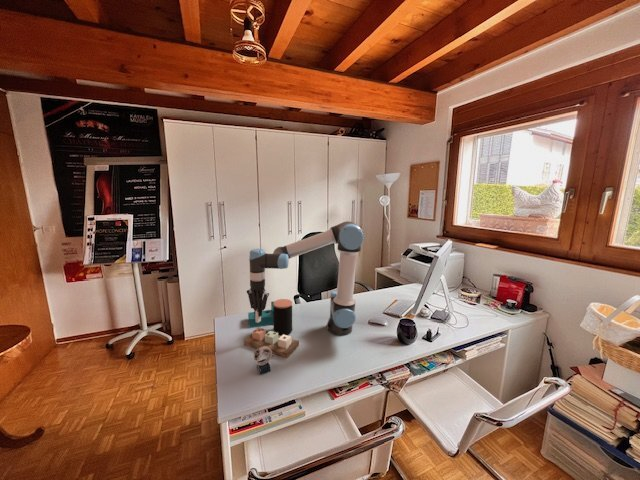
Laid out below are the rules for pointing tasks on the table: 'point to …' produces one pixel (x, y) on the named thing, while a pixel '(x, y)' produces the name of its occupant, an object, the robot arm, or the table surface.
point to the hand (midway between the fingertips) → (258, 321)
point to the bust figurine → (262, 364)
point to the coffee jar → (282, 316)
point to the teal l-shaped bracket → (262, 318)
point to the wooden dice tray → (272, 346)
